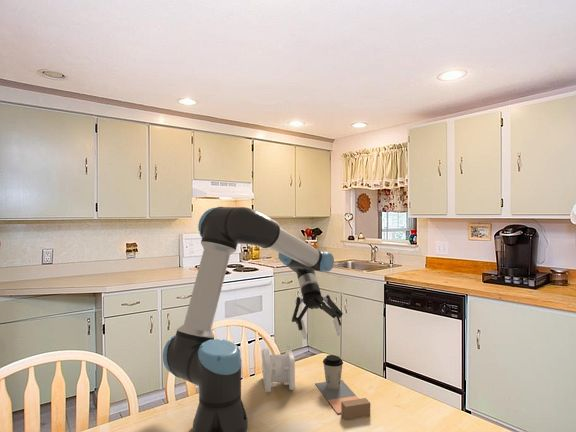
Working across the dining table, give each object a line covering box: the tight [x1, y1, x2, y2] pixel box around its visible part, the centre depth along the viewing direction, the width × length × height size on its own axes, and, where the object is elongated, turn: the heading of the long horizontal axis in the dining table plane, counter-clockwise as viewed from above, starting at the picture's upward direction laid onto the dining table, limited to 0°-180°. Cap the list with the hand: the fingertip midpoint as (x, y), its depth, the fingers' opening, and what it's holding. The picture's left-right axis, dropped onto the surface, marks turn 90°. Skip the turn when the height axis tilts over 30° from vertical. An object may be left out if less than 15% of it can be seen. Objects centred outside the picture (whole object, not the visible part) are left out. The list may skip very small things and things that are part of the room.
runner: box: [315, 379, 371, 421], centre depth 122 cm, size 24×10×4 cm, turn 15°
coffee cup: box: [322, 354, 344, 390], centre depth 129 cm, size 7×7×10 cm
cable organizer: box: [261, 345, 296, 393], centre depth 131 cm, size 15×11×12 cm
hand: (322, 336), depth 139 cm, fingers open, 13 cm apart
